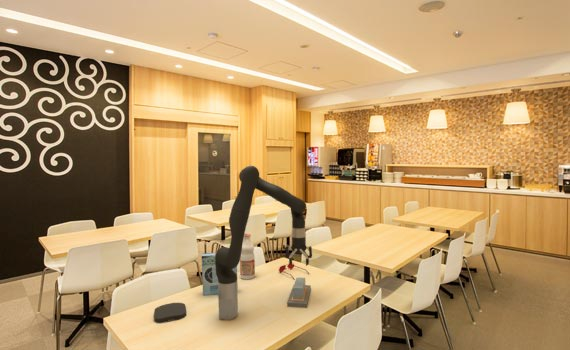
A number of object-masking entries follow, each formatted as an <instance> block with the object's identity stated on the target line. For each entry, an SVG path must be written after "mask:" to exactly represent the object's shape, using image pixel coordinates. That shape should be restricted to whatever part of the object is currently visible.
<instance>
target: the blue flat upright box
mask: <svg viewBox="0 0 570 350" xmlns="http://www.w3.org/2000/svg"><path fill="white" fill-rule="evenodd" d="M216 253H217V252H210V253H207V252H205V253H203V252H202V253H201V273H202V274H201V275H202V276H201V277H202V278H201V279H202V296H210V295H211V296H212V295H218V278H217V275H216V266H215V256H216ZM232 270H233V271H234V272H235V273H236V274H237V275H238V266H237V267H235V268H234V269H232ZM238 284H239V283H238V282H237V294H238V292H239V291H238V290H239V289H238V288H239V287H238V286H239V285H238Z"/></svg>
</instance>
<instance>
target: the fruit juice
mask: <svg viewBox="0 0 570 350" xmlns="http://www.w3.org/2000/svg"><path fill="white" fill-rule="evenodd" d="M251 236H252V235H251V234H250V233H245V234H244V238H243V244H242V251H241V257H240V261H239V276H240V279H241V278H242V279H241V280H247V279H248V280H252V279H254V278H255V277H256V276H255V275H256V272H255V271H256V270H255V269H256V268H255V266H256V265H255V264H256V263H255V262H256V261H255V253H254V249H255V246H254V244H253V243H252V241H251ZM248 280H247V281H248Z"/></svg>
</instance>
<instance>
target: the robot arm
mask: <svg viewBox="0 0 570 350" xmlns="http://www.w3.org/2000/svg"><path fill="white" fill-rule="evenodd" d="M238 175H239V176H238V178H239V181H240V188H239V191H238V193H237V196H236V198H235V200H234V202H233V204H232V206H231V210H230V214H229V217H228V225H229V230H230V235H231V238H230V244H229V247H226V246H221V247H220V248H218V249H217V251H216V252H215V253H216V256H215V266H216V275H217V278H218V294H217V296H218V297H217V298H218V299H217V300H218V320H225V321H226V320H228V321H231V320H232V319H233V320H234V319H235V318H237V316H238V315H239V306H238V301H239V299H238V293H237V283H238V273H237V274H236V273H235V272H234V271H233V270H232V269H234V268H235V267H237V268H238V265H240V257H241V251H242V244H243V238H244V234H246V233H245V232H246V229H247V225H248V222H249V216H250V213H251V207H252V203H253V198H254V193H255V190H257V191H259V192H262V193H263V194H265V195H267V196H269V197H271V198H273V199H274V200H276V201H278V202H279V203H281V204H282V205H285V206H287V207H288V208H290V213H291V214H290V215H291V219H292V221H291V245H289V244H287V245H286V247H285V257H286V258H288V260H289V261H288V262H289V263H288V264H290V265H292V264H293V256H294V255H303V256H304V257H305V266H306V267H308V265H309V263H310V259H312V258H313V251H312V250H313V249H312V246H311V245H310V246H307V244H306V242H307V241H306V238H307V237H306V236H307V235H306V234H307V233H306V232H307V231H306V219H305V217H304V212H305V211H306V210H307V203H306V202H305V201H304V200H303V199H301V198H299V197H298V196H295V195H294V194H292V193H291V192H289V191H287V190H286V189H284V188H283V187H280V186H279V185H276V184H274V183H271V182H269V181H266V180H265V179H263V178H262V177H260V171H259V169H258V168H257V167H256V166H255V165H249V166H245V167H244V168H243V169H241V170H240V172H239V174H238ZM290 250H291V251H292V252H291V253H290ZM306 250H307V251H308V253H307V252H306ZM308 254H309V255H308Z"/></svg>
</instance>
